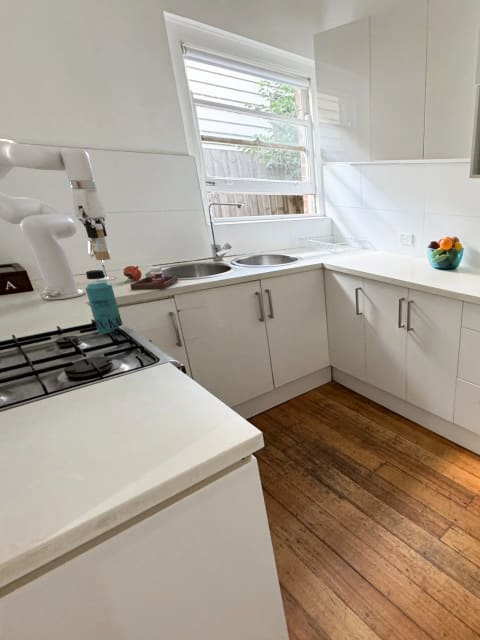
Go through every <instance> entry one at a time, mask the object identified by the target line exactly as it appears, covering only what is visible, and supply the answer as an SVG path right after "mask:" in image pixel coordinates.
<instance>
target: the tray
mask: <svg viewBox="0 0 480 640" xmlns="http://www.w3.org/2000/svg"><path fill="white" fill-rule="evenodd" d="M164 279H165V283H163V284H153V282H152V278H151V276H145V277H143V278H140V279H139V280H138V281H135V282H132V283H131V284H130V285H129V286H130V289H131V290H130V291H154V290H155V291H158V290H159V291H160V290H161V291H163V290H166V289H168V288H169V287H171V286H173V285H175V284H176V283H178V282H179V281H178V276H164Z"/></svg>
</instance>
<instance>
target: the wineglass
mask: <svg viewBox="0 0 480 640" xmlns="http://www.w3.org/2000/svg"><path fill="white" fill-rule="evenodd" d="M107 248H108V253H109V256H111V250H110V249H109V247H108V246H107ZM87 254H88V256H89V257H90V259H92V260H94V261H96V262H98V263H99V264H100V266H101V268H102V271H103V273H104V275H105V278H101V279H98V281H111V280H112V281H113V280H115V279H116V277H113V276H108V274H107V270H106V268H105V267H106V266H105V263H106V262H107V260H96V255H95V251H94V249H93V245H92V241H91V240H88V241H87Z"/></svg>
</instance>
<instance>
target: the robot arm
mask: <svg viewBox="0 0 480 640" xmlns="http://www.w3.org/2000/svg"><path fill="white" fill-rule="evenodd" d="M14 167H15V168H26V169H34V170H42V171H59V172H60V171H61V172H66V175H67V178H68V182H69V185H70V189H71V190H70V193H71V201H72V206H73V211H74V214H75V217H76V218H77V220H78V221H79V222H81V223H82V224H83V227H84V228H85V231H86V234H87V237H88V238H89V239H91V238H98V234H97V230H96V227H94V224H102V227H103V233H104V237H107V236H108V234H107V230H106V227H105V226H106V223H105V221H106V220H105V219H106V218H107V216H106V212H105V208H104V204H103V202H102V199H101V196H100V194H99V191H98V190H99V189H98V185H97V181H96V177H95V174H94V170H93V166H92V164H91V159H90V155H89V153H88V152H87V151H86V150H85V149H81V148H71V147H70V148H69V147H68V148H67V147H66V148H61V147H53V146H45V145H44V146H43V145H34V144H33V145H32V144H25V143H20V142H17V141H15V140H9V139H2V138H0V182H2V181H4V179H5V178H6V177H7V176H8V175H9V173H10V172H11V171H12V170H13V169H14ZM0 219H1V220H3V221H5V222H7V223H9V224H11V225H19V228H20V231H21V233H22V234H23V236H24V238H25V240H26V241H27V243H28V245H29V246H30V248H31V251H32V254H33V257H34V258H35V262H36V264H37V267H38V271H39V273H40V277H41V279H42V282H43V285H44V291H42V292H40V293H39V296H40V297H41V298H43V299H45V300H49V301H50V300H51V301H53V300H55V301H56V300H66V299H72V298H77V297H81V296H83V295H85V291H84V290H83V289H79V288H78V285H77V282H76V279H75V275H74V272H73V269H72V266H71V263H70V260H69V257H68V253H67V251H66V249H65V247H64V246H63V245H62V244H61V242H59V241H58V240H62V239H67V238H71V237H74V235H76V233H77V231H78V229H77V225H76V222H75V221H74V220H73V219H72V218H71V217H70V216H69V215H67V214H65V212H62V211H61V210H59V209H57V208H56V207H54V206H52V205H50V204H48V203H47V202H46V201H43V200H41V199H38V198H34V197H14V196H10V195H8V194H6V193H4V192H2V191H0Z"/></svg>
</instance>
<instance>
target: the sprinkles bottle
mask: <svg viewBox="0 0 480 640" xmlns="http://www.w3.org/2000/svg"><path fill="white" fill-rule="evenodd" d="M94 227H96V230H97V234H98V238H90V241H92V245H93V249H94V251H95V255H96V260H106V261H108V260H111V257H110V256H111V255H110V256H109V253H108V249H109V247H108V245H107V240H106V236H104V233H103V227H102V224H95V223H94ZM107 247H108V248H107ZM96 260H95V261H96Z"/></svg>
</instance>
